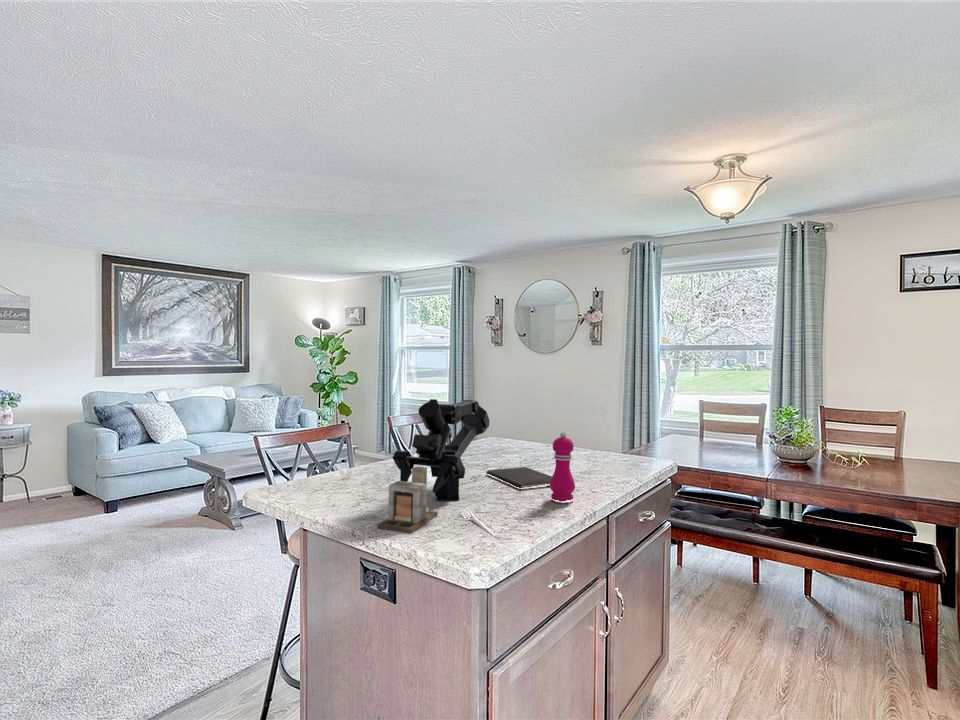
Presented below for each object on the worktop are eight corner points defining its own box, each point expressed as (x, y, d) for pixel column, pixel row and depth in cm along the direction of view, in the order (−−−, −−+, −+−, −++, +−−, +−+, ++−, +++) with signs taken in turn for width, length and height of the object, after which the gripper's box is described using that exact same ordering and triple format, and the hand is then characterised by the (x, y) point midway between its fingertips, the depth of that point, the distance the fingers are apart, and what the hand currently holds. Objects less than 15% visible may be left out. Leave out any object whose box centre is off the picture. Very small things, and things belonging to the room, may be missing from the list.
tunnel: (406, 511, 135) (407, 476, 135) (437, 515, 132) (438, 479, 132) (377, 528, 122) (378, 488, 122) (411, 533, 119) (412, 492, 119)
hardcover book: (525, 473, 188) (525, 466, 188) (562, 487, 167) (562, 480, 167) (486, 476, 181) (486, 470, 181) (520, 492, 160) (520, 484, 160)
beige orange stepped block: (413, 508, 134) (414, 466, 134) (428, 510, 133) (429, 467, 133) (394, 519, 125) (395, 473, 125) (410, 521, 123) (411, 475, 123)
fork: (490, 542, 116) (491, 534, 116) (458, 515, 134) (458, 508, 134) (503, 540, 117) (504, 532, 117) (470, 513, 136) (470, 506, 135)
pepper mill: (577, 499, 151) (578, 431, 151) (571, 505, 144) (572, 434, 144) (553, 496, 154) (554, 429, 154) (546, 502, 147) (547, 432, 147)
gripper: (396, 420, 139) (373, 468, 129) (460, 424, 133) (441, 475, 123) (409, 445, 147) (389, 493, 136) (470, 450, 140) (454, 500, 130)
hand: (417, 490), depth 131 cm, fingers open, 9 cm apart
